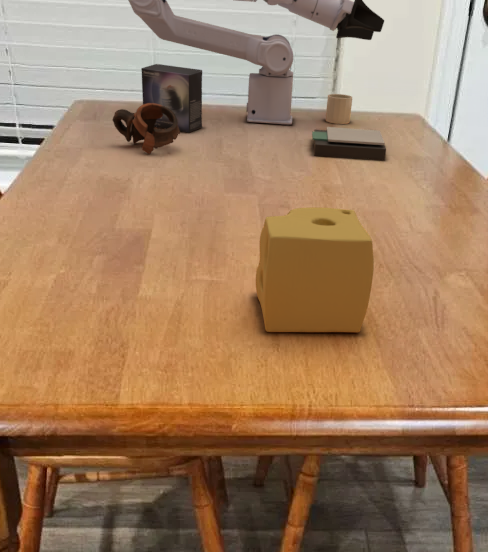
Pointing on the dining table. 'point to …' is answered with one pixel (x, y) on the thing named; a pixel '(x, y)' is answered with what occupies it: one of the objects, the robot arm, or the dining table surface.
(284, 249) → the cheese
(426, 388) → the dining table surface
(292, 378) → the dining table surface
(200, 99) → the small box
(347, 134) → the scale
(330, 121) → the small cup
